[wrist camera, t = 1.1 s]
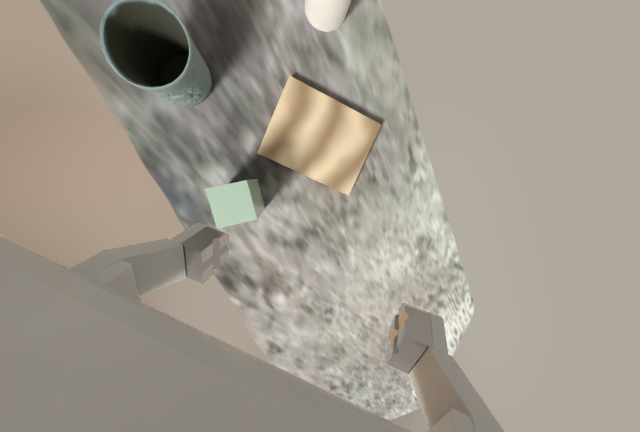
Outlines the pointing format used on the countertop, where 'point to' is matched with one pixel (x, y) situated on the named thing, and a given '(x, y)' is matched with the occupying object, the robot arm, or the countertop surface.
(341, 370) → the countertop surface
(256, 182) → the mint green rectangular block
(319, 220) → the countertop surface
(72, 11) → the countertop surface
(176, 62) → the teal plant pot
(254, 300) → the countertop surface
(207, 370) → the robot arm
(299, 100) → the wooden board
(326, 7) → the cylindrical container
